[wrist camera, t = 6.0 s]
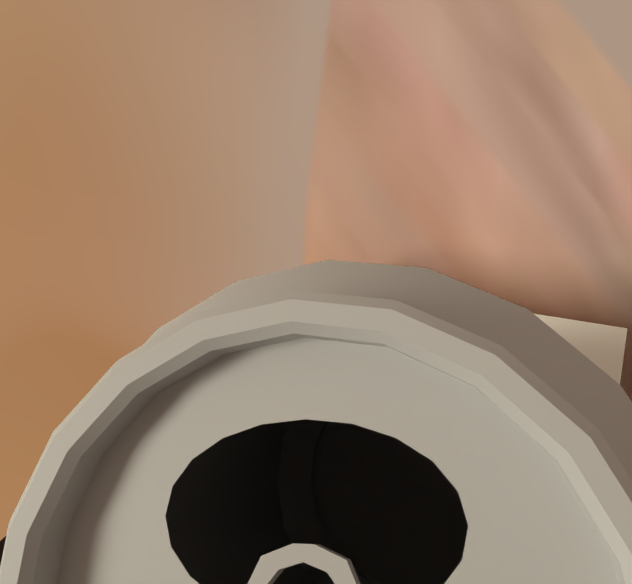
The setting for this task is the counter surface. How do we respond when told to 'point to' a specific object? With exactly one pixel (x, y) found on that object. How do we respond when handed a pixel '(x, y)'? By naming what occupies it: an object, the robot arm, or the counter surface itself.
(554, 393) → the can
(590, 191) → the counter surface
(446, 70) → the counter surface
